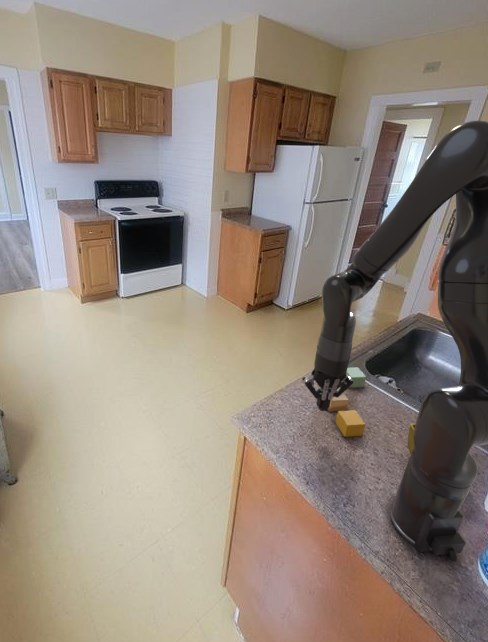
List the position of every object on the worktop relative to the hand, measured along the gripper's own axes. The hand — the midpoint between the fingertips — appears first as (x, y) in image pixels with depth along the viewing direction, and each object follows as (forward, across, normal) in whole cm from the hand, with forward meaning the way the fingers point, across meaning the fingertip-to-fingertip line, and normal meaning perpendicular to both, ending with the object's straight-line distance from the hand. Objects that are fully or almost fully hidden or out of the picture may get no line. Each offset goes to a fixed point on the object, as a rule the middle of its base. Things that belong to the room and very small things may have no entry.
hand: (322, 408), depth 83 cm
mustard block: (+8, +9, 0) cm, 12 cm away
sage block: (+7, +20, +18) cm, 28 cm away
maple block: (+8, +9, +9) cm, 15 cm away
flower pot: (+8, +22, -13) cm, 26 cm away
